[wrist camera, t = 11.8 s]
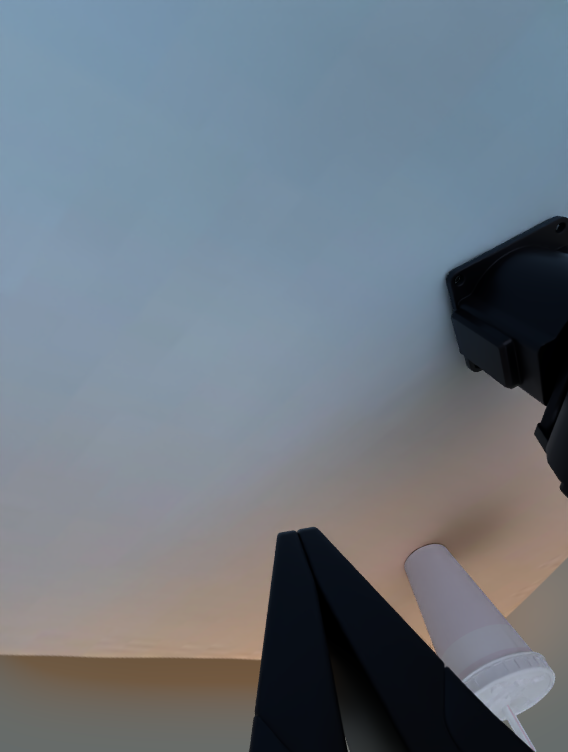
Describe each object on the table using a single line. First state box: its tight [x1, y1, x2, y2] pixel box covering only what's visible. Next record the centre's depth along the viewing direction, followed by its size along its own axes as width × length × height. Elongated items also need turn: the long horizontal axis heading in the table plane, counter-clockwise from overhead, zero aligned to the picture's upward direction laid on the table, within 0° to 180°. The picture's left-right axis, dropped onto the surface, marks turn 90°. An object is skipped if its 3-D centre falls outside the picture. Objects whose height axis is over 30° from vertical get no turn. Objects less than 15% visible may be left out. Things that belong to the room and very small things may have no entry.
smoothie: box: [404, 544, 555, 752], centre depth 27 cm, size 6×6×14 cm
